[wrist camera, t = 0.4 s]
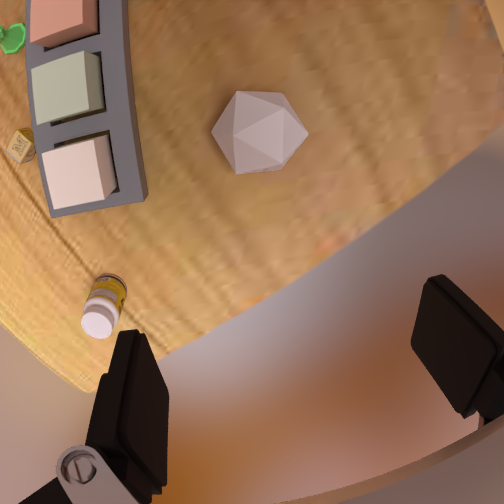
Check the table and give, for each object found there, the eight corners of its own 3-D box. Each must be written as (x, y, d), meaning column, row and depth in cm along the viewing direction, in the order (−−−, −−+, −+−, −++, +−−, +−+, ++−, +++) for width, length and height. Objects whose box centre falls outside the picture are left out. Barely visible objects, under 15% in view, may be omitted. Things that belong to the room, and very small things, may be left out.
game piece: (2, 33, 23) (-24, 28, 18) (27, 17, 23) (4, 9, 18) (5, 60, 25) (-21, 58, 20) (31, 45, 25) (6, 39, 20)
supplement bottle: (119, 308, 42) (106, 347, 35) (90, 292, 41) (72, 329, 33) (133, 284, 41) (121, 322, 34) (103, 266, 39) (84, 302, 32)
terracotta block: (50, 4, 22) (31, -6, 18) (97, -12, 23) (83, -26, 18) (50, 48, 25) (30, 42, 20) (98, 32, 25) (82, 23, 21)
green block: (52, 71, 26) (31, 69, 22) (99, 56, 27) (83, 50, 22) (57, 120, 29) (36, 124, 24) (104, 108, 29) (89, 109, 25)
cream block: (61, 146, 30) (41, 153, 26) (108, 134, 31) (93, 139, 26) (71, 195, 33) (54, 209, 28) (117, 186, 33) (104, 199, 29)
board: (37, 3, 23) (26, -2, 20) (126, -26, 24) (121, -35, 21) (60, 210, 35) (51, 218, 33) (148, 193, 36) (143, 201, 34)
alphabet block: (16, 147, 31) (4, 151, 28) (28, 126, 30) (16, 129, 27) (31, 160, 32) (20, 165, 29) (43, 139, 31) (32, 143, 28)
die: (197, 139, 35) (229, 202, 31) (213, 71, 28) (255, 125, 24) (262, 136, 39) (301, 192, 34) (285, 75, 32) (336, 126, 27)
